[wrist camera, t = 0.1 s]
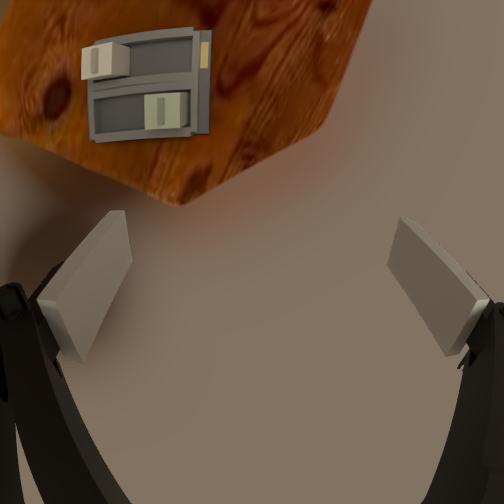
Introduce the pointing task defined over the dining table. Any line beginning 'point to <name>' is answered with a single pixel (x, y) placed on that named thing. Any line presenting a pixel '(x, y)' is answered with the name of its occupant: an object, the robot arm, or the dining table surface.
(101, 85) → the switch bank
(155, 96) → the sage tab
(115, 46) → the ivory tab
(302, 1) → the dining table surface
